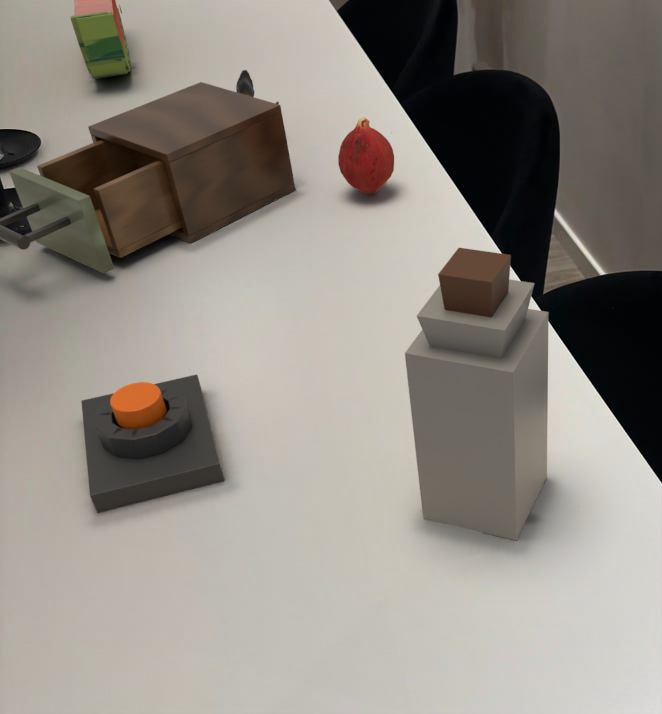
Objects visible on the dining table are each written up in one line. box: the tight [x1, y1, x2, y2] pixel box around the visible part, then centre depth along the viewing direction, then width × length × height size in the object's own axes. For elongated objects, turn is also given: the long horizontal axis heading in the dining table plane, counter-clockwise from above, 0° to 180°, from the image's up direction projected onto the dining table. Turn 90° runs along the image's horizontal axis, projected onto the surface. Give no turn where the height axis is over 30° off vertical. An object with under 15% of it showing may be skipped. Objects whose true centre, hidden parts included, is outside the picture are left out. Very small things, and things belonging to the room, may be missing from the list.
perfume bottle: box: [404, 247, 549, 541], centre depth 61 cm, size 7×7×18 cm
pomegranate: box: [337, 117, 395, 196], centre depth 101 cm, size 6×6×8 cm
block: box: [80, 374, 225, 514], centre depth 72 cm, size 12×9×4 cm
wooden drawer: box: [0, 139, 182, 274], centre depth 94 cm, size 19×11×7 cm, turn 142°
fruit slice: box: [70, 0, 132, 80], centre depth 134 cm, size 26×6×10 cm, turn 18°
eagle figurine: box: [235, 69, 280, 105], centre depth 115 cm, size 8×7×9 cm
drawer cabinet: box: [87, 81, 297, 244], centre depth 101 cm, size 15×13×9 cm
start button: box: [110, 381, 167, 429], centre depth 70 cm, size 4×4×2 cm
